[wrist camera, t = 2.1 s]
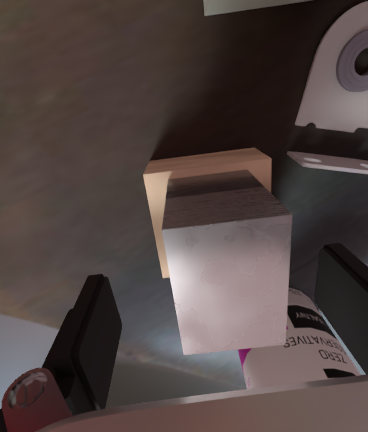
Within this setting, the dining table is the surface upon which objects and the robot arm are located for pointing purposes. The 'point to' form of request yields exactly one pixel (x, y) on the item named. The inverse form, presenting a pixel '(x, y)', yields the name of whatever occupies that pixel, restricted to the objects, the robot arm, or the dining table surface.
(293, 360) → the supplement can
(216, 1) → the stand
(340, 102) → the bracket
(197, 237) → the block
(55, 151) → the dining table surface
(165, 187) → the stand
